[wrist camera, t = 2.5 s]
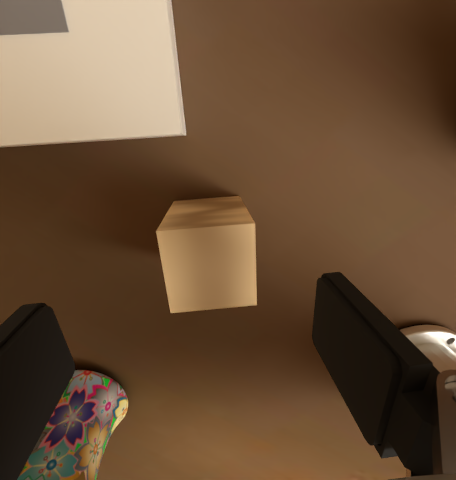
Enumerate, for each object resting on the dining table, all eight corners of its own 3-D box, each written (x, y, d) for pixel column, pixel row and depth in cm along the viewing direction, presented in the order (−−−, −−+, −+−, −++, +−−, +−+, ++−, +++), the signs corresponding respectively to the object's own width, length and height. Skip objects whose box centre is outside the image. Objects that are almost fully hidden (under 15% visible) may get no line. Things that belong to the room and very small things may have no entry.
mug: (27, 361, 23) (-104, 521, 14) (129, 357, 24) (74, 506, 14) (56, 443, 28) (-27, 608, 18) (142, 437, 29) (106, 594, 19)
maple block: (239, 195, 19) (255, 223, 13) (241, 254, 21) (256, 304, 15) (173, 200, 19) (156, 231, 12) (182, 259, 21) (170, 313, 14)
